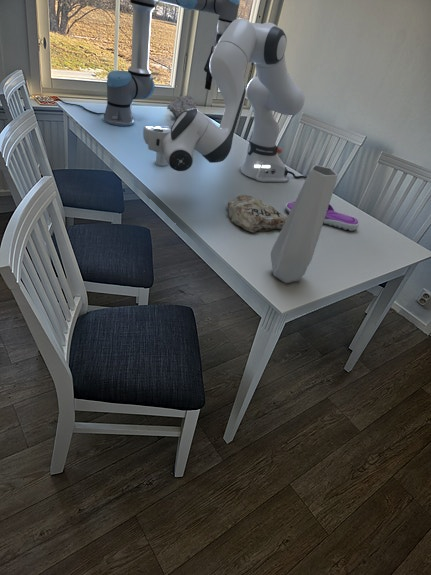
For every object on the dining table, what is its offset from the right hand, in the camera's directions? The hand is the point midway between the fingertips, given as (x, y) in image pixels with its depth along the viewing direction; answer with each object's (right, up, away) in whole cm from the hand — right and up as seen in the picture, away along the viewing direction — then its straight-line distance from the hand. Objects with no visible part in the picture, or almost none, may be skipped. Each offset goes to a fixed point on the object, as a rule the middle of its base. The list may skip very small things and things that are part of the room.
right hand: (171, 130), depth 135 cm
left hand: (+16, +35, +39) cm, 55 cm away
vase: (+37, -53, -22) cm, 68 cm away
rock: (-3, +44, +90) cm, 100 cm away
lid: (-5, +9, +21) cm, 23 cm away
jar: (-8, -2, +30) cm, 31 cm away
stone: (+29, -30, +5) cm, 42 cm away
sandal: (+57, -30, +14) cm, 66 cm away
